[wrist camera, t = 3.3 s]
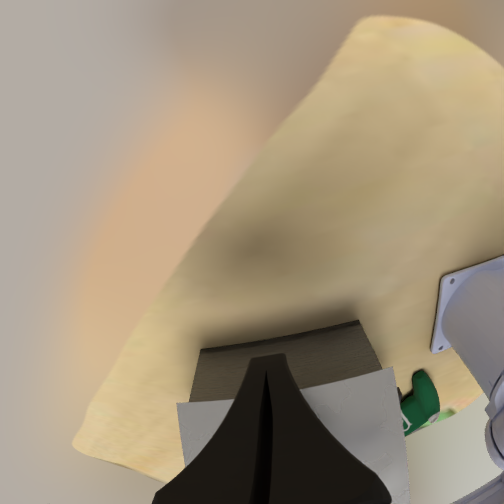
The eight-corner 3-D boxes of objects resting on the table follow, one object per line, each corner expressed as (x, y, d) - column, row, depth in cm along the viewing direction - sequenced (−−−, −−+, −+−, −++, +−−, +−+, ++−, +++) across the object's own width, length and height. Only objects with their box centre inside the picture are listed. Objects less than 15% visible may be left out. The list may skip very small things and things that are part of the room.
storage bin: (383, 313, 20) (412, 361, 15) (375, 405, 24) (390, 448, 19) (177, 352, 21) (160, 405, 16) (221, 432, 26) (216, 476, 20)
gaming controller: (352, 411, 27) (378, 448, 24) (344, 422, 24) (373, 463, 21) (421, 363, 25) (447, 403, 22) (423, 370, 21) (452, 414, 19)
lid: (388, 367, 15) (393, 366, 14) (406, 535, 9) (411, 541, 8) (181, 402, 16) (175, 403, 15) (211, 561, 10) (207, 567, 9)
